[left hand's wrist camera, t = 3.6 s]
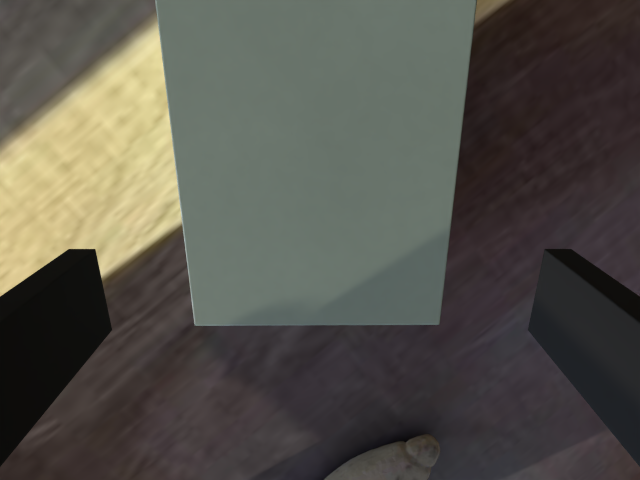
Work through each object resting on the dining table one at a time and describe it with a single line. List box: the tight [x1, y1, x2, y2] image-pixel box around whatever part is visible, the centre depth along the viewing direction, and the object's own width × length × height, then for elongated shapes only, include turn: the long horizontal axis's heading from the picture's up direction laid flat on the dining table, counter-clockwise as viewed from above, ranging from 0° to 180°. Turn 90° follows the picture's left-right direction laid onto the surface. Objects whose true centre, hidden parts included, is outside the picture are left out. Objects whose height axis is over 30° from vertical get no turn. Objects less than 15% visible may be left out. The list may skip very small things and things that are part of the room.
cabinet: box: [155, 0, 477, 326], centre depth 19 cm, size 17×10×9 cm, turn 0°
